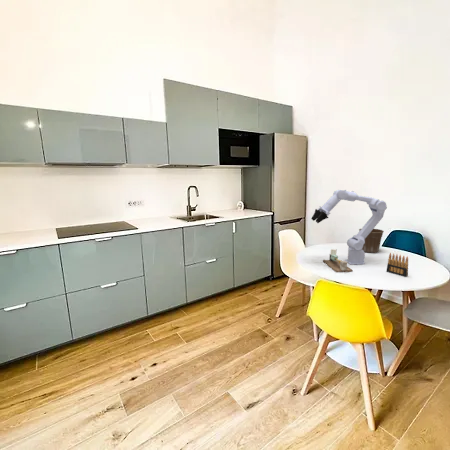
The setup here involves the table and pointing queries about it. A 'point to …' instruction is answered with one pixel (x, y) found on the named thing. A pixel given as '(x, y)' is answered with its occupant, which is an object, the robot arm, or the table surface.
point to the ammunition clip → (397, 265)
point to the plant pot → (373, 241)
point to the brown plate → (338, 265)
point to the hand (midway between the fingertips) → (314, 221)
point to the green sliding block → (333, 254)
